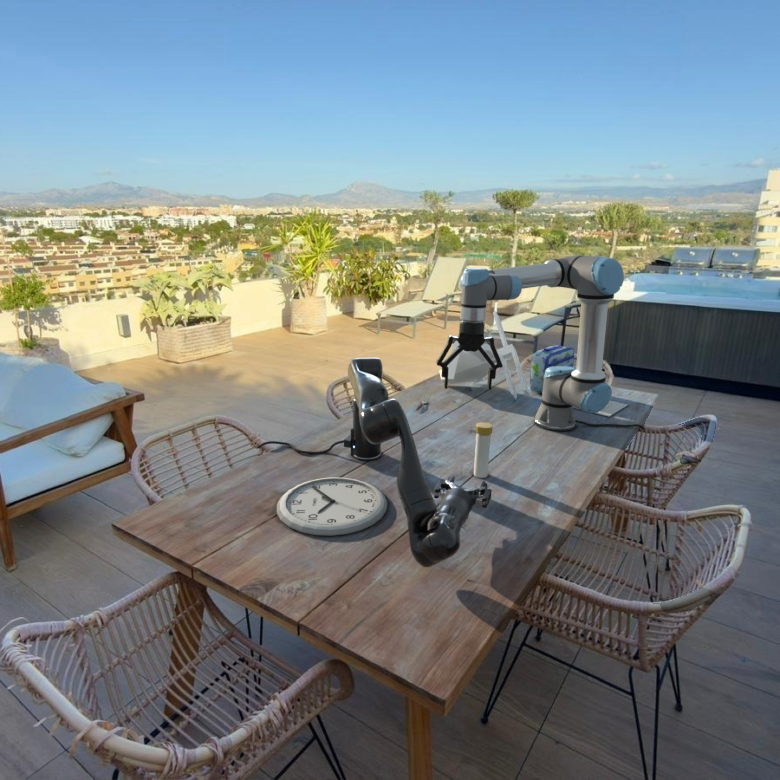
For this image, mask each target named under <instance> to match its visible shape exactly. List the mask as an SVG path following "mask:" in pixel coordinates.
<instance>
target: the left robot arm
mask: <svg viewBox="0 0 780 780" xmlns="http://www.w3.org/2000/svg"><path fill="white" fill-rule="evenodd" d="M383 372H384V369H383V361H382V360H381V358H379V357H355V358H352V359H351V360H349V363H348V366H347V377H348V381H349V383H350V386H351V387H352V389H353V395H354V397H353V399H352V428H350V434H349V435H348V436H347V437H345V438H344V439H343V440H338V441H336V442H333V443H332V444H331V445H330V446H329V448H327V449H325V450H320V451H308V450H302V449H298V448H297V447H296V446H294V445H293V444H291V443H290V442H285V441H277V440H276V441H275V440H269V441H264V442H262V443H260V444H259V445H258V446H256V449H260V448H262V447H263V446H266V445H272V444H274V445H282V446H283V445H284V446H289V447H290V448H292V449H293V451H295V452H297V453H299V454H300V453H301V454H305V455H318V454H319V455H320V454H325V453H328V452H331V450H332V449H333V448H334V447H335V446H337V445H339V444H340V445H341V444H343V447H344V448H347V449H350V456H351V457H354V459H357V460H361V461H374V460H376V459H378V458H380V457H381V456H382V444H383V443H385V442H388V441H390V440H393V439H396V438H398V437H399V439H400V444H401V445H400V446H401V455H400V461H399V466H398V471H397V477H396V489H397V494H398V497H399V500H400V502H401V506H402V508H403V510H404V513H405V516H406V521H407V529H408V538H409V539H408V540H409V547H410V551H411V555H412V557H413V558H414V560H415V561H416V562H417V564H418V565H420V566H421V567H424V568H431V567H433V566H435V565H437V564H439V563H442V562H444V561H445V560H447V559H449V558H451V557H453V556H455V554H456V553H457V552H458V551H459V550H460V548H461V530H462V528H463V526H464V525H465V524H466V522H467V520H468V519H469V515H470V513H471V511H472V509H473V506H475V505H476V504H479V505H481V508H483V509H485V508H487V507H488V505H489V503H490V501H491V500H492V489H491V488H488V483H486V480H482V481H481V484H480V486H479V487H477V486H473V487H470V488H467V487H461V486H456V484H455V475H453V474H452V475H451V476H448V478H447V479H445V480H444V481H443V480H442V479H438V480H437V482H436V484H435V487H434V490H433V492H434V493H433V495H432V492H431V490H430V487H429V485H428V483H427V479H426V477H425V474H424V470H423V467H422V464H421V461H420V457H419V453H418V450H417V446H416V444H415V440H414V436H413V433H412V429H411V426H410V423H409V420H408V417H407V415H406V413H405V410H404V408H403V406H402V405H401V403H400V402H399V400H398V399H396V398H390V397H389V391H388V389H387V385H385V383H384V381H383V376H384V375H383ZM440 497H442V498H441V500H440V502H439V503H438V505H437V504H436V502H435V499H439V498H440Z"/></svg>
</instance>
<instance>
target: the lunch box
mask: <svg viewBox="0 0 780 780" xmlns="http://www.w3.org/2000/svg"><path fill="white" fill-rule="evenodd" d="M574 363H575V348H573V347H571V346H570V347H568V346H563V345H551V346H548V347H544V348H543V349H539V350H536V351H535V352H534V354H533V356H532V358H531V363H530V374H529V391H532V392H536V393H540V394H542V390H543V378H544V375H545V370H546V369H547V368H549V367H555V366H568V367H574Z"/></svg>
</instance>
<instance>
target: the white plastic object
mask: <svg viewBox="0 0 780 780" xmlns="http://www.w3.org/2000/svg"><path fill="white" fill-rule="evenodd" d="M492 315H493V319H494V321H495V324H496V325H495V326H496V328H497V332H498V335H499V338H500V342H501V345H502V347H500V348H498V349H496V350H497V353H498V355H499V358H500V360H501V363H502V365H503V366H502V367H501V368H502V370H503V373H504V376H505V380H506V383H507V386H508V390H509V393H510V394H511V395H512V397H513V398H514V399H515V400H517V392H516V391H517V390H516V388H515V385H514V381H513V378H512V375H511V371H510V369H509V365H508V361H510V360H513V363H514V366H515V369H516V372H517V376H518V380H519V382H520V385H521V389H522V391H523V393H524V395H525V396H526V397H528V396H531V395H530V389H529V388H528V387H529V386H528V384H527V381H526V378H525V375H524V371H523V369H522V368H523V367H522V366H521V362H520V359H519V355H518V352H517V349H516V347H515V346H514V345H513V343H511V344H508V341H507V337H506V334H505V331H504V328H503V325H502V321H501V318H500V315H499V314H498V312H497V311H496V310H495V311H492ZM458 346H459V343H458V341H455V343H453V344H452V349H451V353H452V352H453V351H454V350H455V349H456V348H457V347H458ZM481 347H482V348H483V350H484V351H485V352H486V354H487V355H488V356H489V357H490V359H491V360H492V361H493V363H494V364H496V363H497V362H496V360H495V358H494V355H493V353H492V350H491V348H490V345H488V344H487V343H484V344H483V345H482V346H481ZM451 353H450V354H451ZM448 368H449V369H448V386H449V385H458V384H467V383H468V384H469V383H473V384H477V383H480V382H482V381H484V378H485V377H486V376H488V372H489V368H492V367H491V365H490V364H489V363H488V362H487V360H486V359H485V358H484V356H483V355H482V354H481V352H480V351H479V350H477V351H476V352H473V351H464V350H463V351H462V352H460V353H459V354H458V355H457V356H456V357H455V358H454V359H453V360H452V361H451V362H450V364H449V365H448ZM438 372H439V376H440V381H442V383H444V381H445V378H442V375H441V373H442V368H441V369H440V370H439V371H438Z"/></svg>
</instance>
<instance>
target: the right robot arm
mask: <svg viewBox="0 0 780 780" xmlns="http://www.w3.org/2000/svg"><path fill="white" fill-rule="evenodd" d="M624 274H625V273H624V269H623V266H622V264H620V262H619V261H618V260H616V259H615V258H612V257H607V256H595V255H583V254H582V255H581V254H580V255H570V256H565V257H559V258H553V259H548V260H546V261H545V262H544V263H537V264H528V265H519V266H512V267H503V268H495V269H489V270H488V269H487V268H480V267H469V268H465V269H464V270H463V274H462V275H461V277H460V280H459V285H460V288H461V298H460V314H459V319H460V321H459V324H458V325H459V326H458V336H453V335H451V334H449V335H448V337H447V342H446V343H445V346H444V347H443V349H442V350H441V352H440V354H439V355H438V358H437V359H436V361H435V362H436V363H435V364H436V365H437V367H441V369H442V373H441V375H442V378H445V381H444V382H443V386H444V389H445V390H446V389H448V386H449V385H448V369H449V368H448V366H449V364H450V362H451V361H452V360H453V359H454V358H455V357H456V356H457V355H458V354H459V353H460V352H462V351H463V350H464V351H473V352H476V351H477V350H479V351H480V352H481V354H482V355H483V356H484V358H485V359H486V360H487V362H488V363H489V364H490V365H491V367H492V368H489V372H488V374H487V383H486V384H487V385H486V388H487V390H488V391H492V385H493V384H492V381H493V380H495V379H496V377H497V370H498V369H499V368H500V369H501V368H503V367H502V366H503V365H502V363H501V360H500V358H499V355H498V353H497V350H498V349H497V348H496V346H495V338H494V337H493V336H491V335H490V336H489V337H485V326H486V323H485V322H484V321H485V320H486V313H487V303H488V301H511V300H516V299H517V298H519V297H520V296H521V294H522V290H523V289H531V288H537V287H545V286H546V287H548V288H551V289H552V288H563V289H564V288H565V289H572V290H577V293H576V294H577V295H576V299H578V300H579V302H580V305H581V306H580V315H579V328H578V339H577V340H578V342H577V351H576V352H577V354H576V365H575V367H574V366H573V367H568V366H555V367H549V368H547V369H546V370H545V375H544V378H543V390H542V393H541V402H540V405H539V407H537V408H536V413H535V416H534V424H535V425H536V426H537V427H539V428H542V429H544V430H549V431H556V432H567V431H572V430H574V429H575V428H576V423H577V424H580V425H585V426H589V427H622V428H633V427H638V428H640V429H641V430H645V431H646V428H645V427H644V426H643V425H641V424H638V423H633V424H632V423H630V424H623V423H621V424H620V423H589V422H585V421H583V420H582V421H581V420H578V419H576V418H575V417H576V416H575V413H574V407H576V408H578V409H577V410H580V409H581V411H582V412H586V413H589V414H596V413H597V412H599V411H601V410H602V409H604V408H605V406H606V405H607V404H608V403H609V401H611V398H612V393H613V391H612V388H611V386H610V385H609V384H608V383H607V382H606V379H607V374H606V373H605V372H604V371H603V361H604V353H605V352H604V351H605V341H606V331H607V323H608V322H607V319H608V309H609V304H610V302H611V301H613V300H614V298H615V294H617V293H618V292H619V291H620V290H621V287H622V286H623V284H624V280H625V275H624ZM455 341H458V343H459V346H458V347H457V348H456V349H455V350H454V351H453V352H452V351H451V352H452V353H450V354H449V355H448V356H447V354H448V352H449V351H450V349H451V347H452V346H453V344H454V343H455ZM485 343H486V344H488V345H490V348H491V350H492V353H493V355H494V358H495V360H496V362H497V363H496V364H494V363H493V361H492V360H491V359H490V357H489V356H488V355H487V354H486V352H485V351H484V350H483V348H482V347H481V346H482V345H483V344H485ZM446 356H447V357H446ZM445 357H446V359H445ZM444 359H445V360H444ZM576 408H575V409H576Z"/></svg>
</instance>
